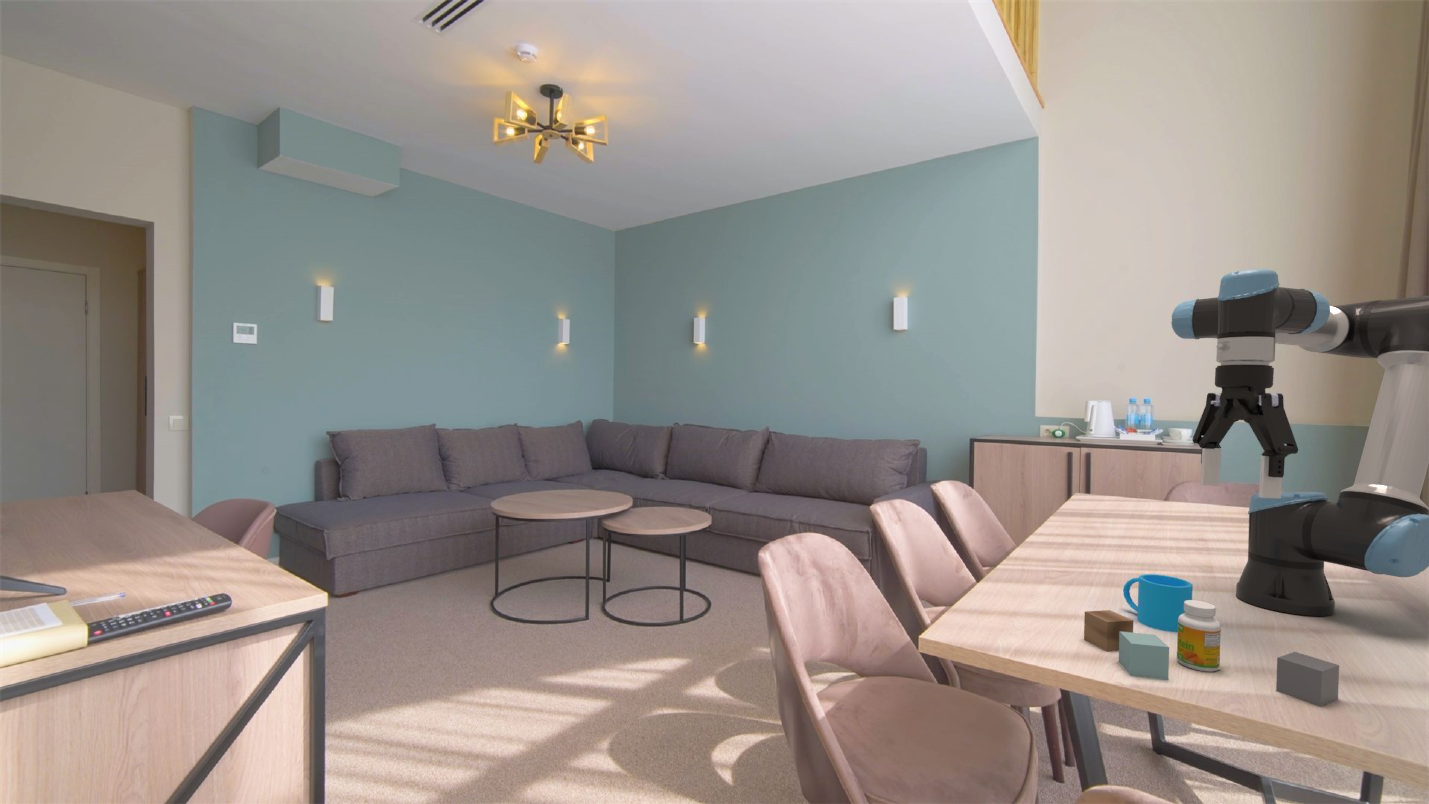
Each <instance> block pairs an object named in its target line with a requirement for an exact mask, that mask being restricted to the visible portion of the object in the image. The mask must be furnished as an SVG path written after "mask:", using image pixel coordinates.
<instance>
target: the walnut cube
mask: <svg viewBox="0 0 1429 804" xmlns="http://www.w3.org/2000/svg"><path fill="white" fill-rule="evenodd" d="M1083 623H1084V625H1083V626H1084V627H1083V640H1084V641H1085V642H1087V643H1090V644H1092V646H1095V647H1097V648H1099V649H1101V650H1103V651H1104V652H1117V651H1118V652H1119V631H1121V632H1131V633H1134V620H1133V619H1131V618H1130V617H1129V618H1128V617H1126V616H1125V615H1122V614H1119V613H1117V612H1115V611H1114V610H1110V609H1107V610H1090V611H1089V610H1088V611H1087V610H1086V611H1084V621H1083Z"/></svg>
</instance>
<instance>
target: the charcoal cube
mask: <svg viewBox="0 0 1429 804" xmlns="http://www.w3.org/2000/svg"><path fill="white" fill-rule="evenodd" d="M1339 677H1340V665H1339V664H1337V663H1333V662H1330V661H1327V660H1323V659H1320V658H1317V657H1314V656H1310V655H1307V654H1304V653H1300V652H1298V651H1292V652H1289V653H1286V654H1284V655H1280V656H1277V658H1276V681H1275V682H1276V688H1275V692H1278V693H1280V694H1284V695H1287V696H1289V697H1291V698H1295V699H1297V700H1301V701H1303V702H1305V703H1309V704H1312V705H1314V706H1318V707H1321V708H1322V707H1324V706H1326V705H1328V704H1331V703H1333V702H1335V701H1338V700H1339V684H1340V683H1339V680H1340V678H1339Z"/></svg>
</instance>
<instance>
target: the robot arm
mask: <svg viewBox="0 0 1429 804" xmlns="http://www.w3.org/2000/svg"><path fill="white" fill-rule="evenodd" d="M1170 322H1171V328H1172V330H1173V332H1174V333H1175V335H1177V337H1179V338H1180V339H1184V340H1189V339H1190V340H1200V339H1217V340H1216V341H1217V344H1216V359H1215V361H1216V362H1217V363H1220V365H1217V366H1216V367H1215V372H1214V376H1215V377H1214V385H1215V387H1216V388H1221V392H1220V393H1219V392H1218V393H1217V392H1209V393H1207V395H1206V401H1205V406H1204V409H1203V411H1202V414H1201V416H1200V419H1199V420H1198V424H1197V427H1196V429H1195V431H1194V435H1193V436H1192V443H1193V444H1197V445H1199V448H1201V455H1200V456H1201V458H1200V465H1201V468H1200V469H1201V470H1200V485H1201V486H1211V487H1212V486H1213V487H1215V486H1217V487H1220V481H1221V462H1222V449H1221V448H1222V446H1221V445H1220V444H1221V442H1222V441H1223V439H1224V438H1225V436H1226V435H1227V433H1228V432H1229V431H1230V430H1231V428H1232V427H1233V425H1234V424H1235V423H1237V422H1238V421H1244V422H1245V423H1247V424H1248V425H1249V427H1250V428H1251V430H1252V432H1253V434H1254V435H1255V437H1256V439H1257V441H1258V443H1259V445H1260V446H1261V448H1262V449H1263V452H1261V455H1260V469H1259V489H1258V492H1255V493H1254V494H1253V495H1252V496H1251V497H1250V502H1249V508H1248V512H1247V513H1248V542H1247V547H1248V549H1247V551H1248V552H1247V562H1246V564H1245V566H1244V569H1243V571H1242V572H1241V574H1240V577H1239V580H1238V582H1237V583H1236V587H1235V596H1236V598H1238V599H1239V600H1240V601H1243V602H1245V603H1247V604H1250V605H1252V606H1255V607H1259V608H1264V609H1268V610H1272V611H1276V612H1280V613H1286V614H1287V613H1288V614H1292V615H1299V616H1300V615H1302V616H1312V617H1313V616H1314V617H1325V616H1332V615H1334V614H1335V613H1336V612H1335V611H1336V601H1335V598H1334V596H1333V593H1332V591H1331V588H1330V585H1329V582H1328V580H1327V578H1326V577H1327V576H1326V574H1325V572H1324V571H1325V562H1326V563H1330V564H1334V565H1340V566H1342V567H1343V566H1344V567H1348V568H1352V569H1358V570H1363V571H1367V572H1370V573H1372V574H1374V575H1375V574H1376V575H1385V576H1390V577H1396V578H1410V577H1414V576H1417V575H1419V574H1421V572H1424V571H1426V569H1428V568H1429V506H1427V505H1426V504H1425V503H1424V501H1423V500H1422V499H1421V494H1422V489H1423V486H1424V482H1425V479H1426V476H1427V470H1428V468H1429V295H1423V296H1422V295H1421V296H1412V297H1402V298H1401V297H1399V298H1393V299H1381V300H1368V301H1361V302H1355V303H1353V302H1352V303H1346V304H1339V305H1330V302H1329V300H1328V299H1327V298H1326V297H1325V296H1324V295H1323V294H1321V293H1319V292H1316V291H1312V290H1309V289H1305V288H1293V287H1292V288H1290V287H1281V286H1280V282H1279V275H1278V274H1277V271H1275V270H1273V269H1266V268H1265V269H1262V268H1261V269H1256V268H1255V269H1244V270H1238V271H1237V270H1235V271H1231V272H1229V273H1227V274H1223V276H1222V278H1221V279H1220V284H1219V291H1218V296H1217V297H1208V298H1196V299H1194V300H1193V299H1192V300H1187V301H1183V302H1181V303H1178V305H1176V307H1175V308H1174V309H1173V310H1172V314H1171V321H1170ZM1276 344H1278V345H1287V346H1298V347H1300V348H1301V349H1303V350H1304V351H1306V352H1307V351H1308V352H1311V353H1319V354H1326V355H1336V356H1342V357H1349V358H1359V359H1376V362H1377V364H1379V365H1380V366H1381V367H1382V368H1383V369H1384V373H1383V377H1382V381H1381V384H1380V388H1379V391H1378V394H1377V399H1376V403H1375V407H1374V409H1373V413H1372V417H1371V421H1370V424H1369V428H1368V432H1367V434H1366V435H1367V436H1366V438H1365V443H1364V446H1363V450H1362V453H1361V457H1360V461H1359V464H1358V468H1357V472H1356V475H1355V479H1354V482H1353V485H1352V486H1349V487H1347V488H1344V489H1342V490H1341V491H1340V492H1339V496H1338V499H1337V501H1336V502H1334V501H1328V500H1329V497H1328V496H1327V495H1326V493H1325V492H1319V491H1282V488H1283V487H1282V485H1283V484H1282V483H1283V478H1284V476H1285V463H1286V462H1285V461H1286V457H1288V456H1289V455H1292V454H1293V455H1295V454H1298V452H1299V448H1298V445H1297V442H1296V439H1295V436H1294V433H1293V430H1292V427H1291V425H1290V422H1289V419H1288V416H1287V413H1286V409H1285V404H1284V395H1283V393H1277V392H1276V393H1275V392H1266V389H1271V388H1272V387H1273V386H1274V375H1275V373H1274V372H1275V371H1274V370H1275V368H1274V367H1273V366H1272V365H1270V364H1271V363H1273V362H1274V361H1275V360H1276V357H1275V356H1276Z"/></svg>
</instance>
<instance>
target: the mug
mask: <svg viewBox="0 0 1429 804" xmlns="http://www.w3.org/2000/svg"><path fill="white" fill-rule="evenodd" d="M1135 583H1138V588H1137V590H1138V591H1137V593H1138V594H1137V604H1136V603H1135V602H1134V601H1133V599H1132V597H1131V592H1130V590H1131V587H1132V586H1133V585H1134V584H1135ZM1122 592H1123V596H1124V597H1123V598H1124V599H1125V601H1126V603H1127V604H1128V606H1129V607H1130V608H1131V609H1132V610H1134V612H1136V613H1137V616H1136V617H1137V621H1138V623H1140V624H1141V625H1144V626H1146V627H1148V628H1152V629H1154V630H1155V629H1156V630H1159V631H1164V632H1170V633H1178V618H1179V616H1180V615H1181V614H1184V613H1186V612H1185V611H1184V601H1186V600H1193V584H1192V583H1191V581H1188V580H1185V579H1183V578H1180V577H1179V578H1178V577H1175V576H1169V575H1163V574H1156V573H1155V574H1153V573H1149V574H1147V573H1146V574H1141V575H1139V576H1138V577H1133V578H1131V579H1128V580H1127V581H1126V583H1125V584H1124V585H1123V589H1122Z"/></svg>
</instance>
